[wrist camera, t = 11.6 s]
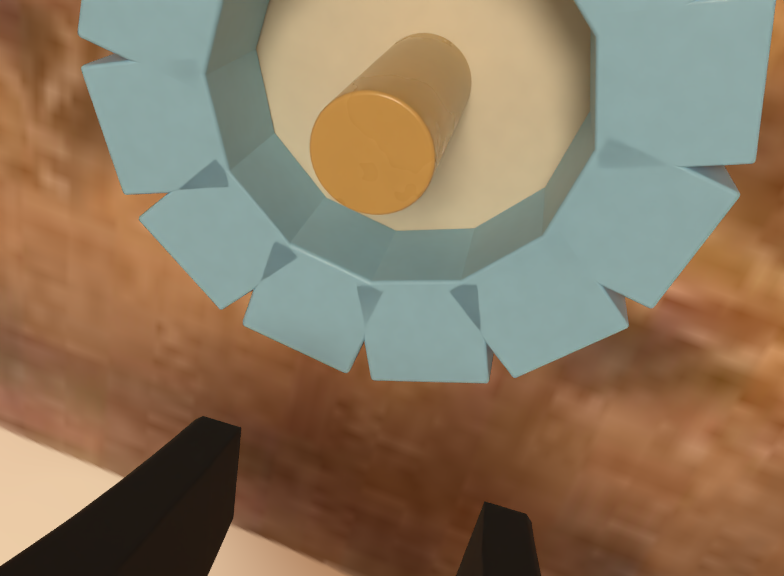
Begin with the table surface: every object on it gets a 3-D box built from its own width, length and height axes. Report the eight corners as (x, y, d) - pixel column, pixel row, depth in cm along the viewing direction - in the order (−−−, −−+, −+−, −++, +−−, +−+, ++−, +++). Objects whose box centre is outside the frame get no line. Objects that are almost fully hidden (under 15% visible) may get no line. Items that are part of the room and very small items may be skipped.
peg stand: (737, -47, 13) (845, -7, 8) (519, 300, 18) (501, 462, 13) (315, -253, 13) (156, -343, 8) (209, 155, 18) (68, 260, 13)
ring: (893, -102, 11) (972, -100, 9) (537, 393, 18) (533, 463, 16) (225, -432, 11) (142, -511, 9) (113, 193, 18) (49, 236, 15)
